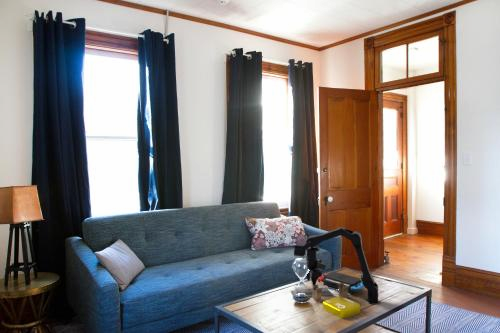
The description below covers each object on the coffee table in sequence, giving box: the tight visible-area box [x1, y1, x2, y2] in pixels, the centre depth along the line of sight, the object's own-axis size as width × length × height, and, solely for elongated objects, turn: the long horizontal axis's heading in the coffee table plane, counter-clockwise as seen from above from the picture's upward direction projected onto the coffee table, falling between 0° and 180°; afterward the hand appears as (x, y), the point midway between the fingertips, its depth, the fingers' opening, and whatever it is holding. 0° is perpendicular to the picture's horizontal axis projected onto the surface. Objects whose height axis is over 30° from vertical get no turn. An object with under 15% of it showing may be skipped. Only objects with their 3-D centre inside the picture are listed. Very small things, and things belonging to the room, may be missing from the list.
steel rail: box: [294, 284, 329, 294], centre depth 221 cm, size 3×20×3 cm, turn 101°
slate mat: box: [290, 289, 334, 298], centre depth 221 cm, size 9×23×1 cm, turn 101°
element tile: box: [322, 296, 361, 319], centre depth 199 cm, size 15×15×5 cm
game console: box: [317, 270, 365, 295], centre depth 231 cm, size 28×6×15 cm
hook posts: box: [311, 283, 349, 303], centre depth 214 cm, size 6×19×8 cm, turn 101°
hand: (311, 283), depth 221 cm, fingers open, 9 cm apart
